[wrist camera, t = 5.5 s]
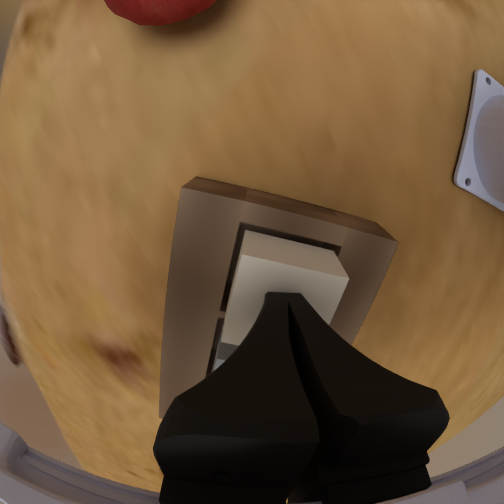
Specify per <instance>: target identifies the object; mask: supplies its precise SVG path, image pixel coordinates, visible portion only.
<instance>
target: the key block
mask: <svg viewBox="0 0 504 504" xmlns="http://www.w3.org/2000/svg"><path fill="white" fill-rule="evenodd" d="M245 230H248V231H253V232H257V233H261V234H265V235H270V236H274V237H278V238H282V239H287V240H291V241H295V242H299V243H303V244H307V245H311V246H315V247H320V248H324V249H328V250H332V251H334V252H335V254H336V256H337V258H338V259H339V261H340V263H341V265H342V266H343V268H344V270H345V272H346V273H347V275H348V277H349V281H348V283H347V285H346V288H345V290H344V292H343V295H342V297H341V300H340V302H339V304H338V306H337V309H336V311H335V313H334V315H333V318H332V320H331V322H330V324H329V326H330V327H331V328H332V329H333V330H334V331H335V332H336V333H337V334H339V335H340V336H341V337H342V338H343V339H344V340H345V341H346V342H348V343H349V344H350V345H351V344H352V342H353V340H354V338H355V337H356V335H357V333H358V331H359V329H360V327H361V325H362V323H363V321H364V319H365V317H366V315H367V313H368V311H369V309H370V307H371V305H372V303H373V300H374V298H375V296H376V294H377V292H378V290H379V288H380V285H381V283H382V281H383V279H384V276H385V274H386V272H387V269H388V267H389V265H390V262H391V260H392V257H393V255H394V253H395V250H396V248H397V245H398V243H399V242H398V241H397V240H395V239H394V238H393V237H392V236H391V235H390V234H389V233H388V232H386V231H385V230H384V229H383V228H382V227H381V226H380V225H378V224H377V223H376V222H372V221H369V220H366V219H362V218H359V217H356V216H352V215H349V214H345V213H342V212H339V211H335V210H331V209H328V208H324V207H321V206H317V205H313V204H310V203H306V202H302V201H298V200H295V199H291V198H287V197H283V196H279V195H275V194H271V193H267V192H263V191H259V190H254V189H250V188H246V187H242V186H237V185H233V184H228V183H224V182H219V181H215V180H210V179H205V178H200V177H195V178H193V179H192V180H191V181H189V182H188V183H187V184H185V185H184V186H183V187H181V193H180V198H179V204H178V211H177V217H176V223H175V230H174V237H173V244H172V251H171V259H170V267H169V276H168V284H167V294H166V304H165V314H164V326H163V339H162V354H161V373H160V400H159V418H163V417H164V415H165V413H166V411H167V410H168V408H169V406H170V405H171V403H172V401H173V400H174V398H175V397H176V396H178V395H180V394H181V393H183V392H185V391H186V390H188V389H190V388H191V387H193V386H194V385H196V384H198V383H199V382H200V381H202V380H203V379H204V378H206V377H207V376H208V375H209V374H211V373H212V369H213V364H214V360H215V356H216V351H217V347H218V343H219V338H220V334H221V330H222V325H223V323H224V320H225V315H226V309H227V304H228V300H229V296H230V291H231V287H232V283H233V279H234V275H235V271H236V266H237V262H238V258H239V254H240V250H241V246H242V241H243V237H244V233H245Z"/></svg>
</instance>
